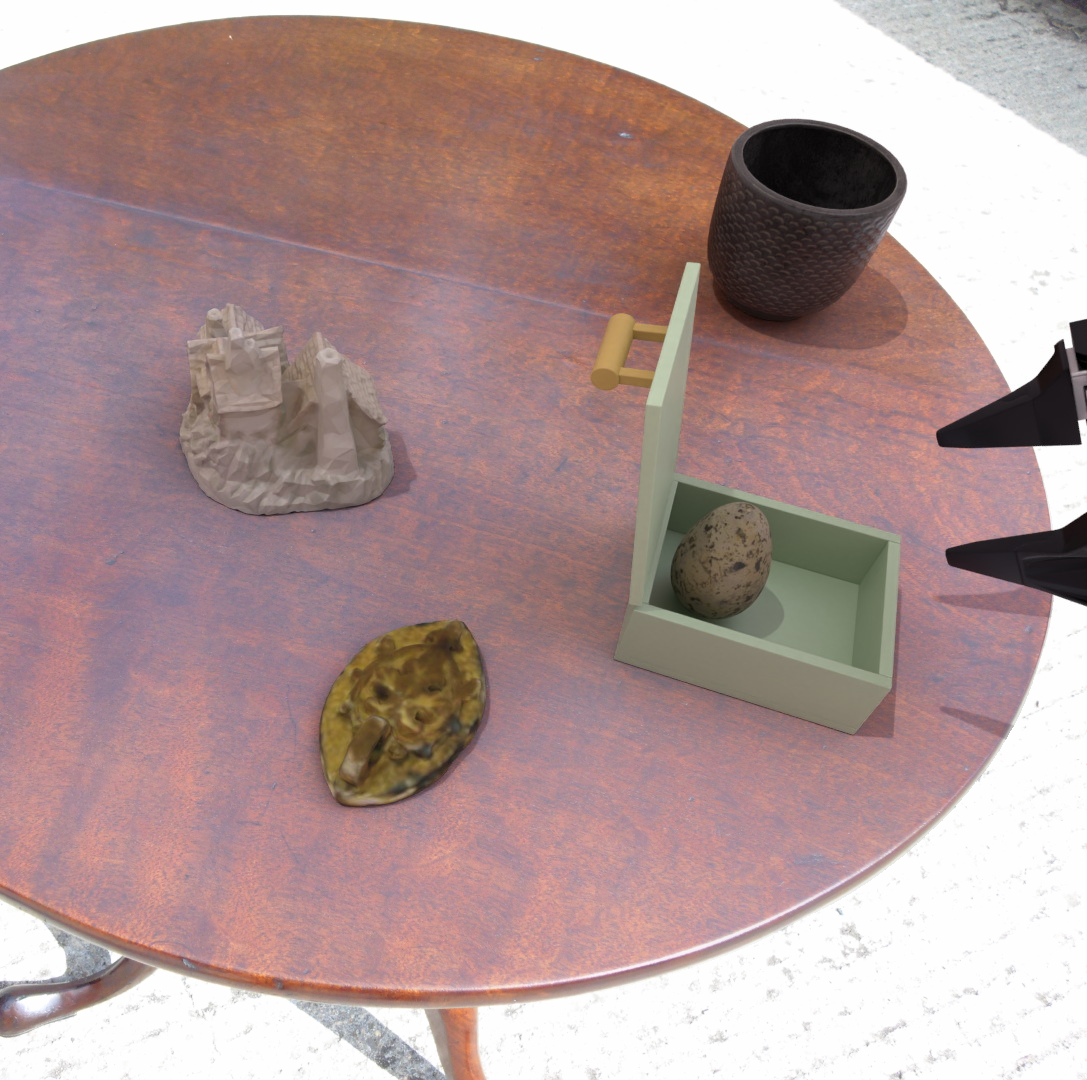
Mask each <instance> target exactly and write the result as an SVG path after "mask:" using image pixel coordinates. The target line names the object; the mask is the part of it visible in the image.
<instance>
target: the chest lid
mask: <svg viewBox="0 0 1087 1080" xmlns="http://www.w3.org/2000/svg"><path fill="white" fill-rule="evenodd" d="M685 263H686V264H685V266H684V270H683V273H682V277H681V280H680V284H679V287H678V291H677V294H676V298H675V301H674V305H673V308H672V312H671V314H670V318H669V322H668V326H667V325H659V324H658V325H656V324H649V323H640V322H636V319H635V318H634V317H633V316H632V315H630V314H628V313H623V312H619V313H616V314H614V315H612V316H611V317H610V318H609V320H608V322H607V325H606V329H605V332H604V334H603V337H602V340H601V343H600V345H599V348H598V353H597V355H596V357H595V360H594V363H593V367H592V370H591V373H590V375H589V379H590V382H591V384H592V386H594V387H595V388H596V389H598V390H601V391H612V390H614V389H616V388H617V387H618V386H619V385H623V386H631V387H639V388H646V389H649V392H648V395H647V399H646V402H645V407H644V420H643V431H642V432H643V433H642V445H641V455H640V467H639V468H640V469H639V477H638V478H639V479H638V489H637V490H638V492H637V501H636V502H637V503H636V515H635V526H634V536H633V537H634V538H633V548H632V549H633V550H632V551H633V552H632V560H631V561H632V562H631V570H630V571H631V572H630V584H629V596H628V601H629V604H631V605H637V606H642V603H643V599H644V595H645V591H646V587H647V583H648V579H649V575H650V571H651V566H652V562H653V558H654V554H655V550H656V546H657V542H658V538H659V534H660V530H661V526H662V522H663V518H664V514H665V510H666V506H667V502H668V498H669V494H670V490H671V486H672V482H673V478H674V474H675V472H676V470H677V463H678V456H679V447H680V441H681V440H680V439H681V432H682V431H681V429H682V423H683V414H684V407H685V405H684V404H685V397H686V390H687V381H688V372H689V364H690V355H691V349H692V348H691V347H692V341H693V340H692V339H693V332H694V323H695V322H694V321H695V315H696V314H695V313H696V305H697V300H698V299H697V298H698V291H699V290H698V289H699V281H700V273H701V266H702V265H701V263H700V262H692V261H691V262H690V261H687V262H685ZM633 340H636V341H644V342H645V341H646V342H655V343H662V346H661V350H660V352H659V353H660V354H659V357H658V361H657V364H656V368H655V370H647V369H639V368H632V367H625V365H626V363H627V359H628V356H629V353H630V350H631V346H632V343H633Z"/></svg>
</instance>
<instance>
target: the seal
mask: <svg viewBox="0 0 1087 1080" xmlns="http://www.w3.org/2000/svg"><path fill="white" fill-rule="evenodd" d="M486 684H487V683H486V675H485V670H484V665H483V659H482V654H481V651H480V648H479V646H478V643H477V641H476V638H475V637H474V635H473V634H472V631H471V630H470V628H469V627H468V626H467V624H466V623H465V622H463V621H462V620H460V619H457V618H454V619H453V618H452V619H441V620H435V621H432V622H419V623H416V624H412V625H406V626H405V625H404V626H403V627H399V628H396V629H393V630H390V631H387V632H385V633H383V634H380V635H378V636H377V637H375V638H374V639H372V640H371V641H369V642H367V643H366V644H365V645H364V646H362V648H361V649H360V650H359V652H357V653H356V654H355V655H354V656H353V657H352V658H351V659H350V660H349V662H347V664H346V666H345V667H344V669H343V670H342V672H341V673H340V674H339V675H338V676H337V677H336V679H335V681H334V683H333V684H332V685H331V688H330V690H329V692H328V695H327V696H326V699H325V701H324V703H323V707H322V711H321V715H320V720H319V725H318V726H319V727H318V751H319V759H320V763H321V768H322V772H323V775H324V779H325V781H326V783H327V786H328V788H329V790H330V792H331V795H332V797H333V798H334V800H335V801H336V802H337V803H339V804H342V805H344V806H352V807H353V806H354V807H356V806H357V807H366V806H380V805H388V804H390V803H396V802H399V801H401V800H404V799H406V798H409V797H412V796H413V795H416V794H418V793H420V792H422V791H423V790H424V789H426V788H428V787H430V786H432V785H433V784H434V783H436V782H437V781H438V780H440V779H441V777H442V776H444V774H446V772H448V770H449V768H450V767H451V764H453V762H454V761H455V760H457V758H458V757H459V755H460V754H461V753H462V752H463V750H465V749H466V747H468V746H469V745H470V744H471V743H472V741H473V740H474V738H475V734H476V732H477V730H478V729H479V727H480V725H481V722H482V720H483V718H484V717H483V716H484V714H485V713H484V712H485V708H486V702H487V685H486Z"/></svg>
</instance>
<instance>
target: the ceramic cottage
mask: <svg viewBox="0 0 1087 1080" xmlns="http://www.w3.org/2000/svg"><path fill="white" fill-rule="evenodd" d="M205 316H206V317H205V323H204V324H203V325H202V326H200V328H199V330H198V332H196V336H197V339H193V340H187V341H186V344H185V348H186V355H187V359H188V371H189V377H190V385H191V386H190V387H191V394H190V397H189V400H190V401H189V403H188V405H187V408H186V411H185V412H183V413H182V414H181V425H180V428H179V438H178V440H179V443H180V446H181V450H182V453H183V454H184V456H185V459H186V460H187V461H186V462H187V466H188V469H189V470H190V473H191V474H192V476H193V479H194V480H195V481H196V483H198V487H199V488H200V490H201V491H202V492H204V493H205V495H206V497H209V498H210V499H212V500H214V502H217V503H219V504H220V505H221V504H222V505H224V506H225V507H226V508H230V509H231V510H238V511H240V512H242V513H245V514H248V515H255V516H258V515H259V516H260V515H266V516H269V515H270V516H271V515H277V514H279V515H286V514H290V513H291V512H297V513H299V512H316V511H322V510H326V509H328V510H335V509H347V508H348V507H355V506H357V507H358V506H360V505H364V504H367V503H370V502H371V501H372V500H374V499H376V498H378V497H380V496H381V495H383V493H384V491H385V490H387V488H388V487H389V485H390V484H391V482H392V479H393V477H394V476H395V465H394V463H395V460H394V457H393V452H392V445H391V442H390V436H389V435H390V434H389V431H388V430H387V429H386V428H385V425H387V424H388V423H389V420H388V417H386V415H385V411H384V408H383V406H382V405H381V404H382V403H381V402H380V398H379V394H378V393H379V392H378V389H377V387H376V383H375V379H374V378H373V377H372V375H371V374H370V373H369V372H368V371H367V370H365V368H364V367H362V366H359V365H358V364H356V363H354V362H353V361H351V360H350V358H349V357H347V356H346V355H344V354H343V353H340V352H339V351H338V350H337V348H336V346H335V345H333V344H331V342H330V341H329V340H328V338H326V337H324V336H323V334H322V332H320V331H315V332H313V333H312V334H311V337H310V338H309V340H308V341H306V343H305V344H304V345H303V346H302V347H301V349H300V351H299V352H298V354H297V355H296V356H295V358H294V360H293V362H292V363H289V358H288V351H287V345H286V342H285V340H284V337H283V335H284V332H285V330H284V327H283V324H280V325H278V326H274V327H270V328H267V329H265V327H264V325H263V324H262V323H261V322H260V321H259V320H257V319H256V318H255V317H253V316H251V315H249V314H248V313H247V312H246V311H244V310H243V309H242V308H241V306H239V305H236V304H235V303H229V302H228V303H226V304H225V307H223V308H222V309H221V310H220V309H219V308H216V307H213V308H211V309H210V310H207V313H206V315H205Z"/></svg>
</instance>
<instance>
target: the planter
mask: <svg viewBox="0 0 1087 1080" xmlns="http://www.w3.org/2000/svg"><path fill="white" fill-rule="evenodd" d="M907 189H908V177H907V173H906V171H905V169H904V166H903V165H902V163H901V162H900V161H899V160H898V158H897V157H896V156H895V155H894V154H893V153H892V152H891V151H890V150H889V149H888V148H887V147H885V146H884V145H882V144H881V143H879V142H878V141H876V140H875V139H873V138H871V137H869V136H867V135H865V134H863V133H861V132H859V131H856V130H854V129H851V128H849V127H845V126H843V125H839V124H836V123H832V122H827V121H822V120H816V119H810V118H809V119H808V118H780V119H779V118H778V119H772V120H768V121H763V122H761V123H758V124H755V125H752V126H751V127H749V128H747V129H745V130H744V131H743V132H742V133H740V134H739V136H738V137H737V138H736V139H735V140H734V142H733V144H732V146H731V148H730V150H729V154H728V156H727V160H726V163H725V166H724V169H723V173H722V177H721V180H720V183H719V186H718V191H717V194H716V198H715V202H714V206H713V210H712V215H711V218H710V223H709V228H708V229H709V230H708V235H707V243H706V245H707V246H706V250H707V251H706V252H707V253H706V255H707V256H706V257H707V262H708V268H709V270H710V272H711V275H712V277H713V279H714V280H715V282H716V284H717V285H718V286H719V288H720V289H721V290H722V292H723V293H724V296H725V297H726V299H727V300H728V301H729V302H730V303H731V304H732V305H733V306H734V307H735V308H737V309H738V310H740V311H741V312H742V313H745V314H746V315H749V316H751V317H754V318H758V319H761V320H766V321H773V322H785V321H786V322H787V321H792V320H797V319H798V318H801V317H803V316H808V315H812V314H816V313H818V312H820V311H822V310H825V309H828V307H831V306H832V305H834V304H835V303H836V302H838V301H839V300H841V298H842V297H844V296H845V295H846V293H847V292H848V291H850V289H851V288H852V287H853V286H854V284H855V283H856V282H857V281H858V279H859V278H860V277H861V275H862V274H863V272H864V271H865V269H866V267H867V266H868V264H869V262H870V261H871V260H872V258H873V256H874V254H875V252H876V251H877V249H878V247H879V246H880V244H881V242H882V240H883V239H884V237H885V235H886V233H887V231H888V229H889V228H890V226H891V224H892V222H893V220H894V219H895V216H896V214H897V213H898V211H899V209H900V207H901V205H902V203H903V201H904V199H905V197H906V194H907Z"/></svg>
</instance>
